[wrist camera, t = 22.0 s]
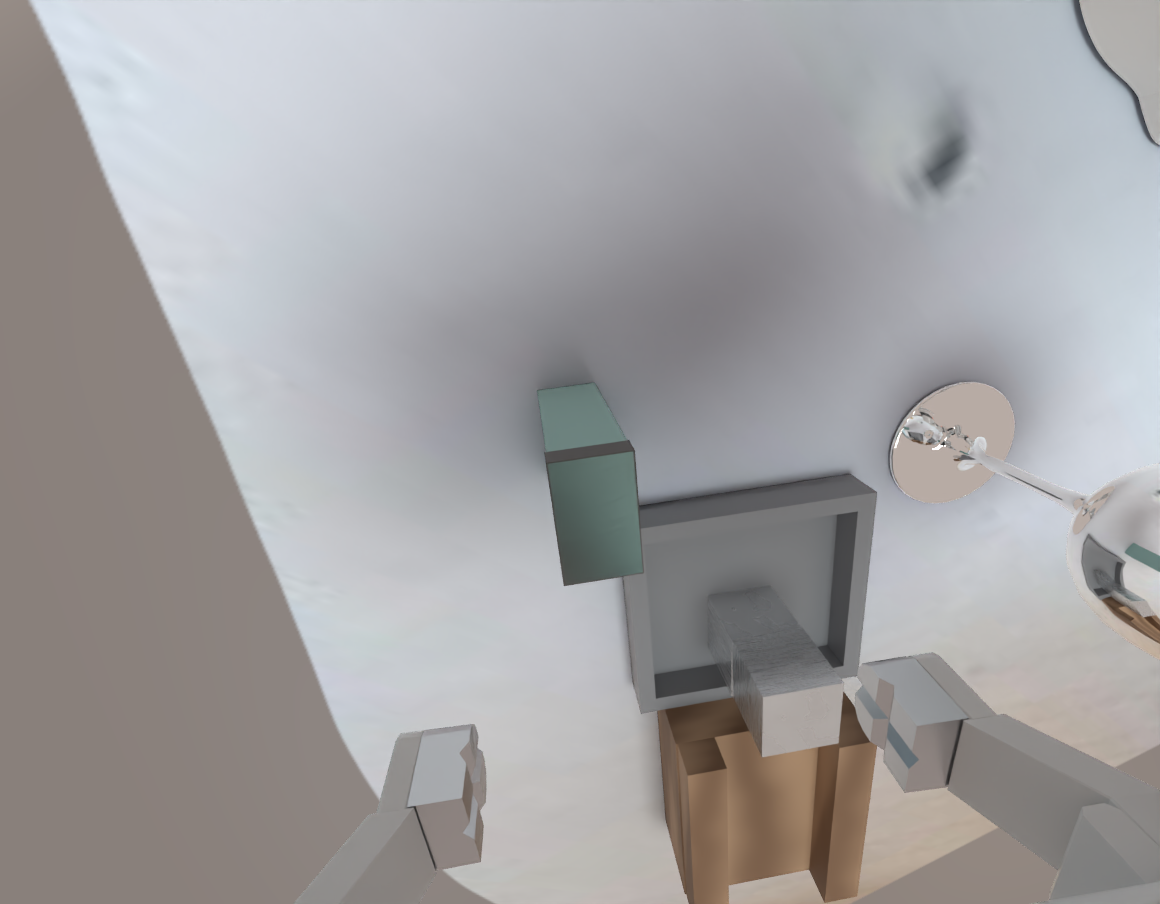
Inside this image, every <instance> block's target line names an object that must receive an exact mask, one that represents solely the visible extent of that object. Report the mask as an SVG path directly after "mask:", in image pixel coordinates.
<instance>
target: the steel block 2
mask: <svg viewBox="0 0 1160 904" xmlns="http://www.w3.org/2000/svg"><path fill="white" fill-rule="evenodd" d="M843 689H844V682H843V681H842V680H841V678H840V677H839V676H838V674H837V673H836V672H835V670H834V669H833V668H832V666H831V665H830V664H829V662H828V661H827V660H826V658H825V657H824V655H823V654H822V653H821V651H820V650H819V649H818V647H817V646H816V645H815V643H814V642H813V641H812V639H811V638H810V637H809V635H808V634H807V633H806V631H805V630H804V629H803V628H797V629H792V630H786V631H780V632H774V633H768V634H762V635H756V636H750V637H744V638H739V639H733V640H732V696H733V698H734V700H735V702H736V704H737V706H738V708H739V710H740V712H741V715H742V717H743V719H744V721H745V723H746V725H747V727H748V729H749V731H750V733H751V736H752V738H753V740H754V742H755V744H756V746H757V748H758V750H759V752H760V754H761V757H767V756H772V755H778V754H783V753H789V752H794V751H800V750H805V749H811V748H816V747H821V746H827V745H832V744H838V743H839V732H840V721H841V710H842V700H843Z"/></svg>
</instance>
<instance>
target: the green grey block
mask: <svg viewBox="0 0 1160 904" xmlns="http://www.w3.org/2000/svg"><path fill="white" fill-rule="evenodd" d="M537 393H538V400H539V407H540V414H541V421H542V428H543V435H544V442H545V450H546V452H545V460H546V467H547V474H548V481H549V488H550V494H551V501H552V508H553V515H554V522H555V529H556V535H557V542H558V549H559V556H560V563H561V570H562V577H563V583H564V586H568V585H574V584H580V583H586V582H593V581H599V580H605V579H611V578H618V577H624V576H630V575H636V574H643V573H644V564H643V551H642V538H641V526H640V513H639V500H638V487H637V475H636V462H635V450H634V448H633V446H632V445H631V443H630V441H629V440H627V439H626V438H625V436H624V434H623V432H622V431H621V429H620V427H619V425H618V423H617V422H616V420H615V418H614V416H613V415H612V413H611V411H610V409H609V408H608V406H607V404H606V402H605V400H604V399H603V397H602V395H601V393H600V392H599V390H598V388H597V386H596V384H595V383H588V384H580V385H573V386H566V387H558V388H551V389H544V390H537Z"/></svg>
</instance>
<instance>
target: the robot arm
mask: <svg viewBox="0 0 1160 904" xmlns="http://www.w3.org/2000/svg"><path fill="white" fill-rule="evenodd" d="M1079 2H1080V7H1081V11H1082V15H1083V18H1084V22H1085V25H1086V28H1087V30H1088V33H1089V35H1090V37H1091V39H1092V42H1093V44H1094V46H1095V47H1096V49H1097V51H1098V52H1099V54H1100V55H1101V57H1102V58H1103V59H1104V61H1105V62H1106V63H1107V64H1108V66H1109V67H1110V68H1111V69H1112V70H1113V71H1114V72H1115V73H1116V74H1118V75H1119V76H1120V77H1121V78H1122V79H1123V80H1124V81H1125V82H1126V83H1127V84H1128V85H1129V86H1130V87H1131V88H1132V89H1133V90H1134V92H1135V93H1136V95H1137V96H1138V98H1139V102H1140V106H1141V109H1142V113H1143V116H1144V120H1145V123H1146V126H1147V128H1148V131H1149V133H1150V135H1151V137H1152V139H1153V140H1154V141H1155V142H1156V143H1157V144H1158V145H1160V0H1079ZM857 678H858V679H859V680H860V682H861V683H862V687H861V688H860V689H859V690H858V691H857V692H856V693H855V709H856V714H857V718H858V721H859V723H860V725H861V727H862V729H863V731H864V733H865V734H866V736H867V737H868V739H869V741H870V742H872V743H873V744H875V745H877V746H878V747H880V748H881V749H883V750H884V761H883V762H884V763H885V765H886V766H887V767H888V769H889V770H890V772H891V773H892V775H893V776H894V778H895V779H896V781H897V782H898V784H899V785H900V787H901V788H902V790H903V791H904V793H907V792H914V791H922V790H929V789H937V788H945V787H948V789H947V790H949V791H950V792H951V793H953V794H954V795H956V796H957V797H958V798H960V799H961V800H962V801H964V802H965V803H966V804H968V805H969V806H971V807H972V808H973V809H975V810H976V811H977V812H979V813H980V814H981V815H983V816H984V817H986V818H987V819H988V820H990V821H991V822H992V823H994V824H995V825H996V826H998V827H999V828H1001V829H1002V830H1003V831H1005V832H1006V833H1008V834H1009V835H1010V836H1012V837H1013V838H1014V839H1016V840H1017V841H1018V842H1020V843H1021V844H1023V845H1024V846H1025V847H1027V848H1028V849H1029V850H1031V851H1032V852H1033V853H1035V854H1036V855H1037V856H1039V857H1040V858H1042V859H1043V860H1044V861H1046V862H1047V863H1048V864H1050V865H1051V866H1052V867H1054V868H1055V869H1057V870H1058V872H1057V875H1056V877H1055V880H1054V883H1053V886H1052V888H1051V891H1050V896H1049V901H1044V902H1037V903H1032V904H1160V790H1159V789H1157V788H1155V787H1153V786H1151V785H1149V784H1147V783H1145V782H1142V781H1141V780H1139V779H1136V778H1134V777H1132V776H1130V775H1128V774H1126V773H1124V772H1122V771H1120V770H1118V769H1116V768H1114V767H1112V766H1110V765H1108V764H1106V763H1104V762H1102V761H1100V760H1098V759H1096V758H1094V757H1091V756H1089V755H1087V754H1085V753H1083V752H1081V751H1079V750H1077V749H1075V748H1073V747H1071V746H1069V745H1067V744H1065V743H1063V742H1061V741H1059V740H1057V739H1055V738H1053V737H1051V736H1049V735H1046V734H1044V733H1042V732H1040V731H1038V730H1036V729H1034V728H1032V727H1030V726H1028V725H1026V724H1024V723H1022V722H1020V721H1018V720H1016V719H1014V718H1012V717H1010V716H1008V715H1006V714H999V715H997V714H996V713H995V712H994V711H993V710H992V709H991V708H990V707H989V706H988V705H987V704H986V703H985V702H984V701H983V700H982V699H981V698H980V697H979V696H978V695H977V694H976V693H975V692H974V691H973V690H972V689H971V688H970V687H969V686H968V685H967V684H966V683H965V682H964V680H963V679H962V678H961V677H960V676H959V675H958V674H957V673H956V672H955V671H954V670H953V669H952V668H951V667H950V666H949V665H948V664H947V663H946V662H945V661H944V660H943V659H942V658H941V657H940V656H939V655H937V654H935V653H933V652H932V653H925V654H919V655H913V656H908V657H906V656H904V657H898V658H892V659H886V660H880V661H874V662H868V663H862V665H861V666H860V667H859V670H858V677H857ZM477 745H478V733H477V730H476V726H475V725H474V724H469V725H461V726H453V727H445V728H437V729H429V730H424V731H416V732H409V733H401V734H400V735H399V737H398V738H397V740H396V742H395V746H394V749H393V753H392V757H391V761H390V765H389V768H388V772H387V776H386V780H385V783H384V787H383V791H382V795H381V798H380V802H379V806H378V810H377V813H375V814H370V815H368V817H367V818H366V819H365V820H364V821H363V822H362V823H361V825H360V826H359V827H358V828H357V829H356V831H355V832H354V833H353V834H352V835H351V836H350V838H349V839H348V840H347V841H346V842H345V844H344V845H343V846H342V847H341V848H340V849H339V851H338V852H337V853H336V854H335V855H334V857H333V858H332V859H331V860H330V861H329V862H328V864H327V865H326V866H325V867H324V868H323V869H322V871H321V872H320V873H319V874H318V875H317V877H316V878H315V879H314V880H313V881H312V882H311V884H310V885H309V886H308V887H307V888H306V890H305V891H304V892H303V893H302V894H301V895H300V897H299V898H298V899H297V900H296V901H295V903H294V904H419V903H420V901H421V900H422V898H423V896H424V895H425V893H426V891H427V889H428V888H429V886H430V884H431V883H432V881H433V879H434V877H435V876H436V871H437V870H442V869H447V868H452V867H457V866H462V865H468V864H473V863H478V862H481V852H482V840H483V828H484V825H483V821H482V817H481V814H480V810H481V808H482V807H483V806H484V804H485V803H486V768H485V761H484V756H483V752H482V751H481V750H479V749H478V748H477Z"/></svg>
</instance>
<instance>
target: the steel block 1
mask: <svg viewBox="0 0 1160 904" xmlns="http://www.w3.org/2000/svg"><path fill="white" fill-rule="evenodd" d="M797 628H801V626H800V625H799V624H798V622H797V621H796V620H795V618H794V617H793V615H792V614H791V613H790V611H789V610H788V609H787V607H786V606H785V605H784V603H783V602H782V601H781V599H780V598H779V597H778V595H777V594H776V593H775V591H774V590H773V588H772V587H771V586H767V587H761V588H754V589H748V590H741V591H735V592H728V593H722V594H715V595H709V596H708V648H709V650H710V652H711V654H712V656H713V658H714V660H715V663H716V665H717V667H718V669H719V671H720V673H721V675H722V677H723V679H724V682H725V684H726V686H727V688H728V690H729V692H730V694H731V696H732V640H733V639H739V638H744V637H750V636H756V635H762V634H768V633H774V632H780V631H786V630H792V629H797Z"/></svg>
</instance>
